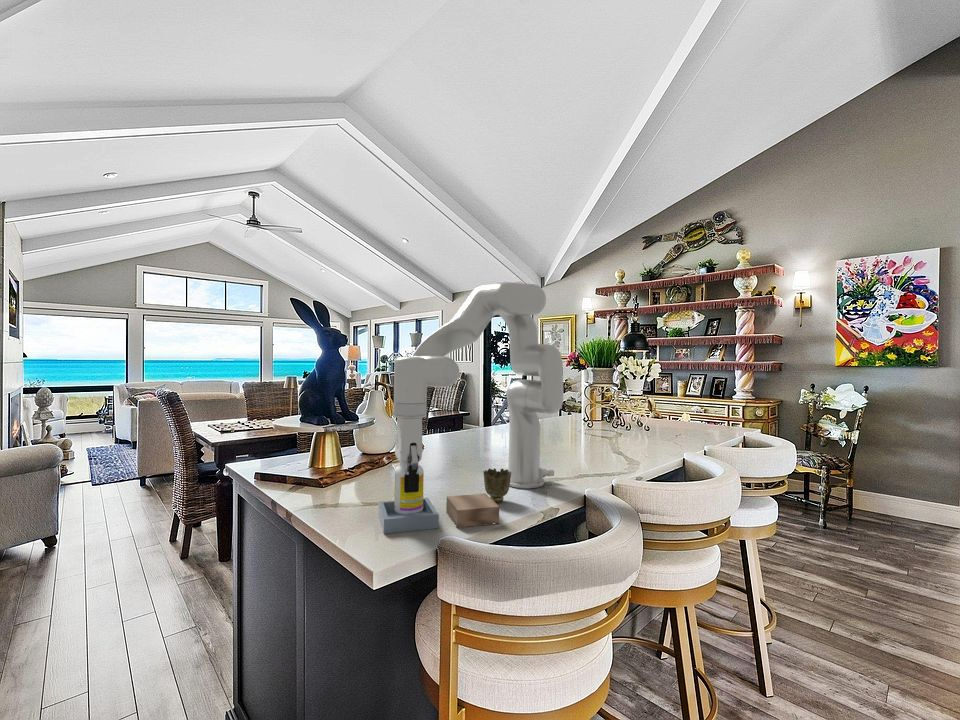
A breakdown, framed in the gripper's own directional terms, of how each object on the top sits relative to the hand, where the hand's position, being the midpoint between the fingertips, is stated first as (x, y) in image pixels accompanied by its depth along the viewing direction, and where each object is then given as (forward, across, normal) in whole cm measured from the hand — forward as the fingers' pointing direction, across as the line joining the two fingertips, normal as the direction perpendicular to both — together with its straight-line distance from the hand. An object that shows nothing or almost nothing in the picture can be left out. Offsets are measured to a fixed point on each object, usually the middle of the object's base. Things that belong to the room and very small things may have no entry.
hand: (408, 486), depth 102 cm
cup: (+8, -8, +25) cm, 27 cm away
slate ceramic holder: (+8, 0, 0) cm, 8 cm away
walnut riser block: (+8, +2, +15) cm, 17 cm away
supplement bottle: (+6, 0, 0) cm, 6 cm away
